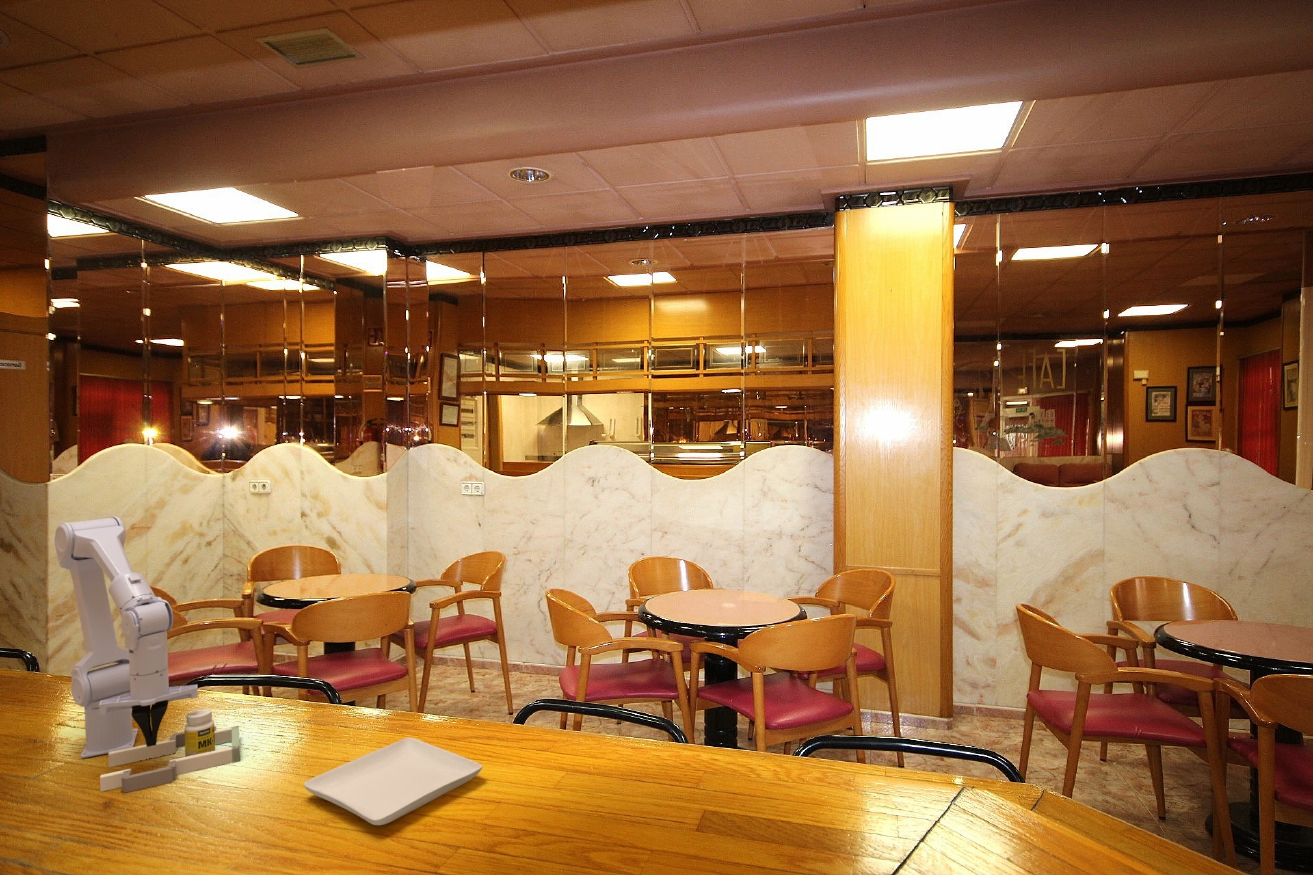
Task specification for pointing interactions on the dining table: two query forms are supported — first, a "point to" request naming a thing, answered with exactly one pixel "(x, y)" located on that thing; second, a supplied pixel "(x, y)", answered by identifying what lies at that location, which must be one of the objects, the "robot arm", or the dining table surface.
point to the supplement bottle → (199, 732)
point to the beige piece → (175, 765)
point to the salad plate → (393, 780)
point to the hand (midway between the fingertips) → (151, 743)
